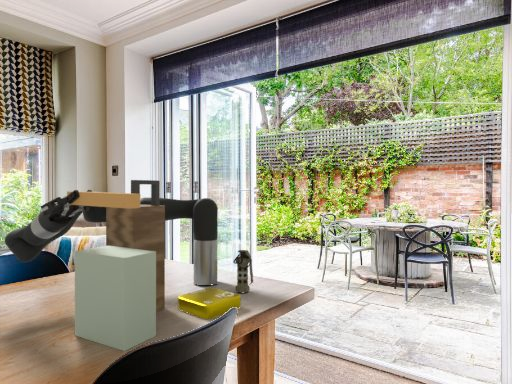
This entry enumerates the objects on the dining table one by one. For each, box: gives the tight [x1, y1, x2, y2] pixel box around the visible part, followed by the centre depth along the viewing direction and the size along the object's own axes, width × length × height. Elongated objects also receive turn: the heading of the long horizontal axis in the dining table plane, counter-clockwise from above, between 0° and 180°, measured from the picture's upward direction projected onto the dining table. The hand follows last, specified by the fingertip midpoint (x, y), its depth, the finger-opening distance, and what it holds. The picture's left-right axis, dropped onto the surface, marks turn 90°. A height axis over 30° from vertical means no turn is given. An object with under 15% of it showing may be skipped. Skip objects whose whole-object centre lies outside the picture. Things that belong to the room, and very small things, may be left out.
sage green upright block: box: [74, 245, 157, 352], centre depth 94 cm, size 18×10×22 cm, turn 61°
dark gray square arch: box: [130, 179, 161, 206], centre depth 110 cm, size 2×10×8 cm, turn 151°
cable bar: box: [66, 190, 141, 209], centre depth 96 cm, size 24×4×4 cm, turn 61°
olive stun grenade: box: [233, 249, 254, 293], centre depth 132 cm, size 6×7×15 cm
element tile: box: [177, 286, 242, 320], centre depth 115 cm, size 15×15×5 cm
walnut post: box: [105, 204, 166, 312], centre depth 112 cm, size 12×12×32 cm
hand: (84, 193), depth 99 cm, fingers closed on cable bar, 3 cm apart
